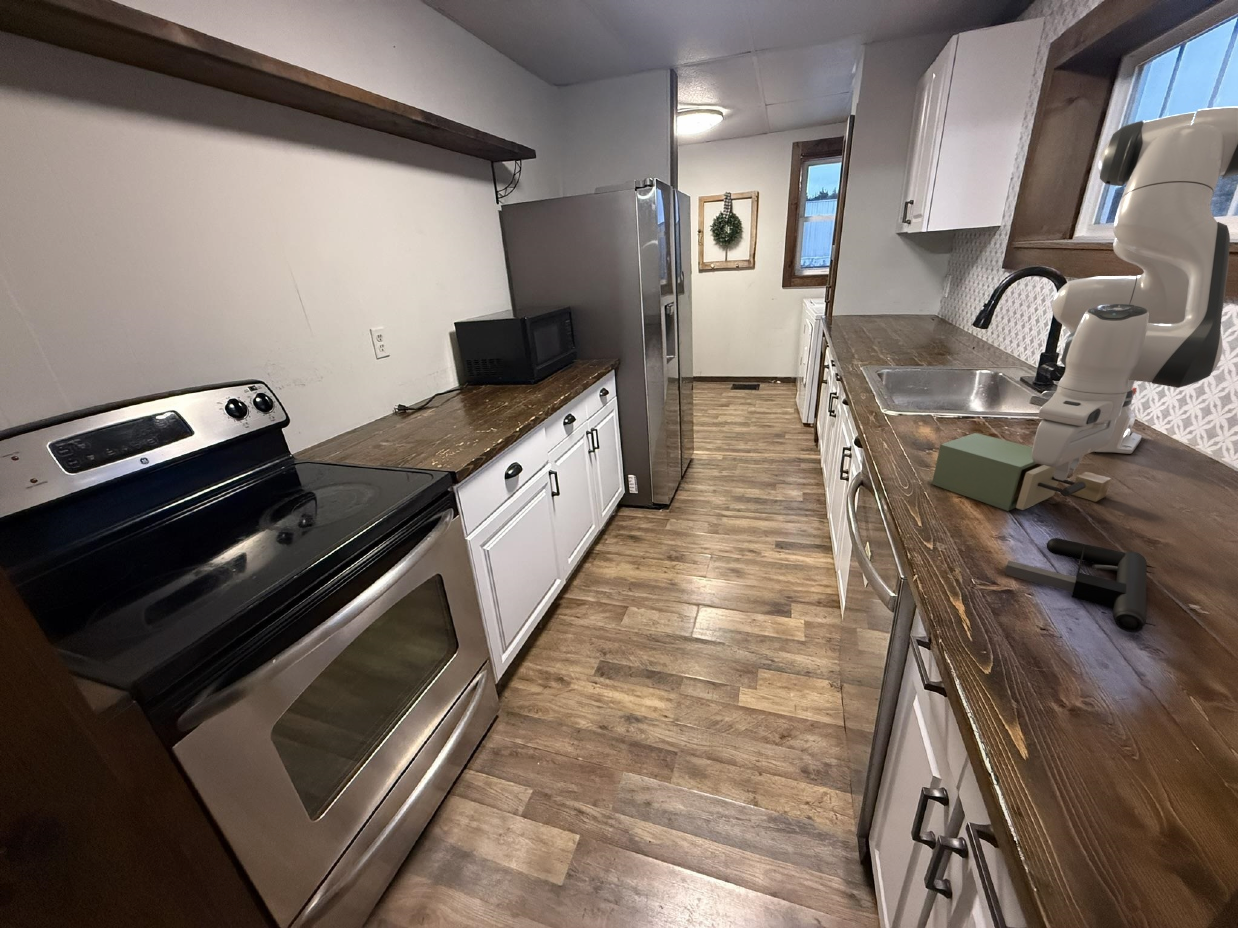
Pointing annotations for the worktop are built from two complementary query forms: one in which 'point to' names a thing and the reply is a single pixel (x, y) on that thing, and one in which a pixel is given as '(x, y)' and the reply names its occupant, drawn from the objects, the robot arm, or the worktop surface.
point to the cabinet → (982, 468)
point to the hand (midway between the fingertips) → (1062, 477)
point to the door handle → (1097, 580)
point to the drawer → (1041, 486)
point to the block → (1093, 486)
